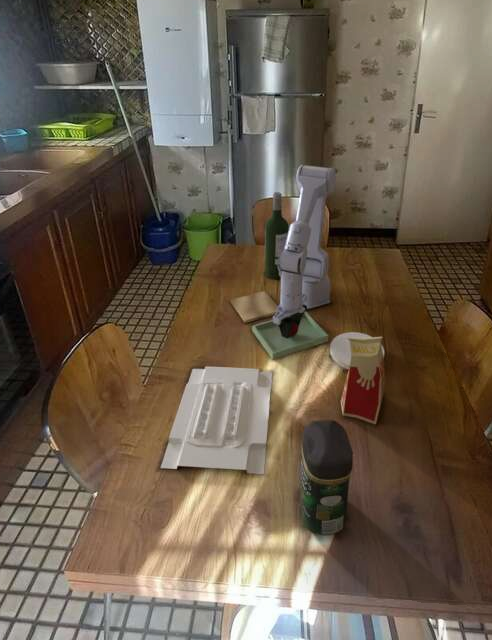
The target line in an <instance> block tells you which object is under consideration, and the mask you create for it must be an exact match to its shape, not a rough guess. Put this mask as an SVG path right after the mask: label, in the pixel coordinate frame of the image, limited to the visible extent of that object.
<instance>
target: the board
mask: <svg viewBox="0 0 492 640" xmlns="http://www.w3.org/2000/svg"><path fill="white" fill-rule="evenodd" d="M230 304H231V305H232V307H233V308H234V309H235V311H236V312H237V314H238V315H239V316H240V318H241V319H242V321H243V322H244V323H245V324H248V323H251V322H254V321H257V320H261V319H265V318H269V317H273V316H274V315H275V314H276V312H277V309H278V307H279V305H278V304H277V303H276V302H275V301H274V299H273V298H272V297H271V296H270V295H269V294H268V293H267V292H266V291H265V290H264V291H259V292H255V293H252V294H248V295H244V296H239V297H235V298H232V299H230Z"/></svg>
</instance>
